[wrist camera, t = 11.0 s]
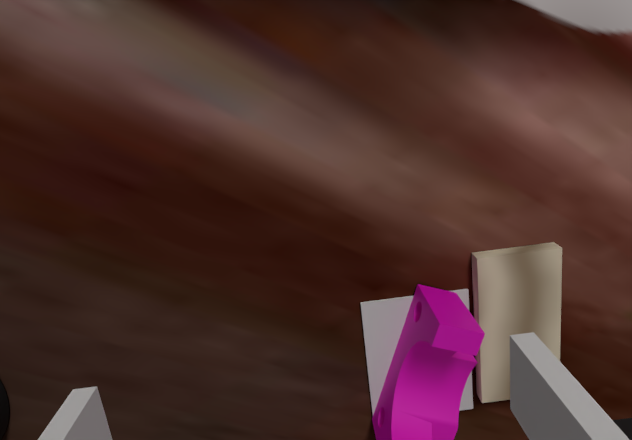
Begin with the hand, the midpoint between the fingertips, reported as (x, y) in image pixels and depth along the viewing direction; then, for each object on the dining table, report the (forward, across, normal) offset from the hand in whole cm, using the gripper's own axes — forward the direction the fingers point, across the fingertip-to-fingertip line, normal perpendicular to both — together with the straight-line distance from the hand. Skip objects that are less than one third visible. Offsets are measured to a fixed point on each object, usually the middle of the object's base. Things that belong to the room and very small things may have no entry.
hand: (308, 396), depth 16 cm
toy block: (+29, +10, -18) cm, 35 cm away
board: (+29, +18, -15) cm, 37 cm away
